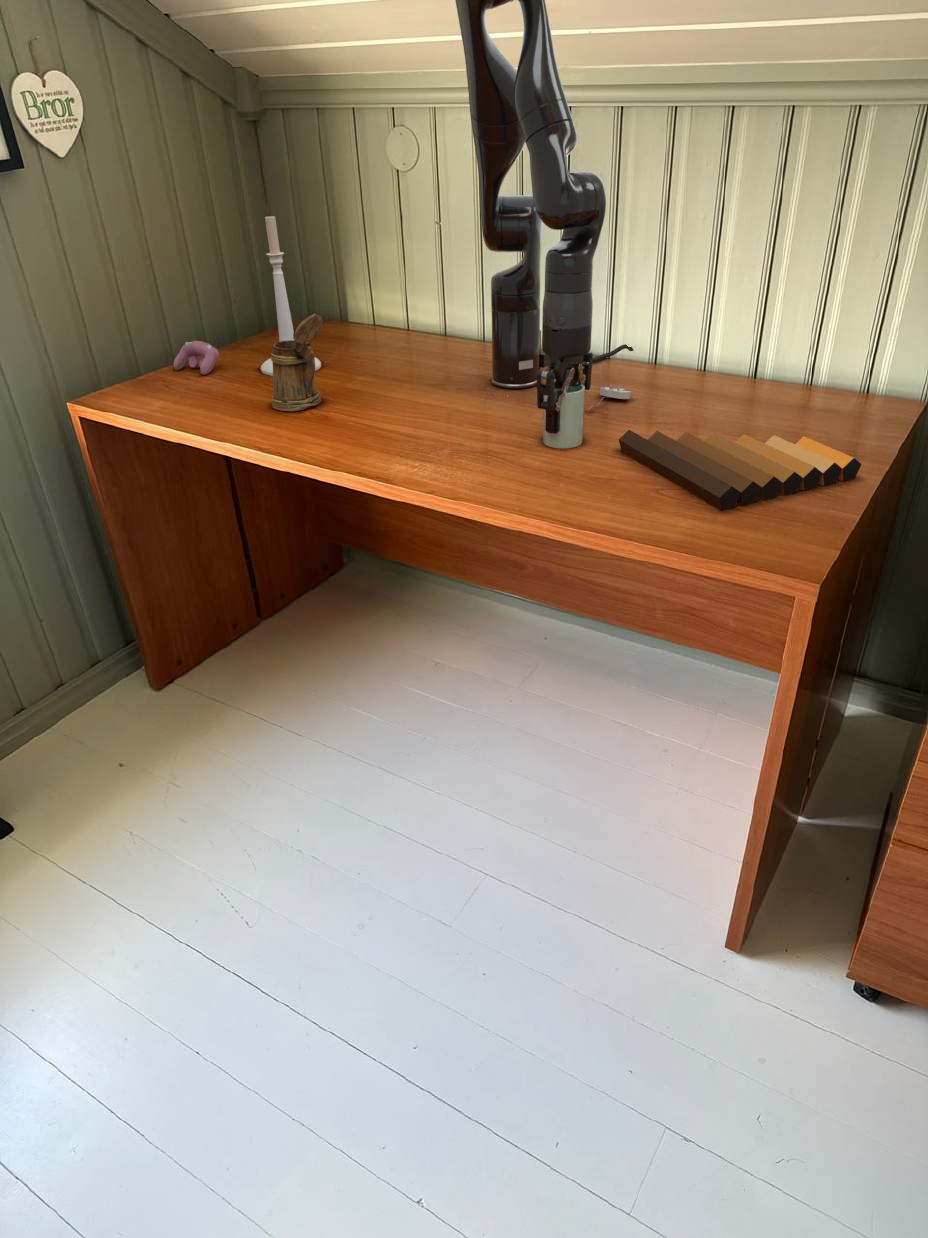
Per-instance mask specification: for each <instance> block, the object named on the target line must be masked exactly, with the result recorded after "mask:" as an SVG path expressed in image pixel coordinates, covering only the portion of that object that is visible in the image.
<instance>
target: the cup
mask: <svg viewBox="0 0 928 1238" xmlns="http://www.w3.org/2000/svg"><path fill="white" fill-rule="evenodd" d="M555 390H560V389H559V388H555ZM585 395H586V390H585V386H584V385H578V386H577V387H572V386H570V387H569V388H568V392H567V393H566V396H565V397H563V398H562V403H561V406H560V431H559V432H558V433H556V434H553V433H548V432H546V430H545V427H546V410H545V409H542V410H543V411H542V412H543V414H542V415H543V416H542V419H543V420H542V442H543V444H544V445H545V446H547V447H548V448H549V447H550V448H554V449H572V448H576V447H579V446H581V445H582V443H583V437H584V420H585V418H584V417H585V400H586V399H585ZM545 396H546V395H544V400H545ZM556 398H557V395H555V401H556Z"/></svg>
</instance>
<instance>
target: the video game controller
mask: <svg viewBox="0 0 928 1238" xmlns="http://www.w3.org/2000/svg"><path fill="white" fill-rule="evenodd" d="M219 356H220V354H219V350H218V349H217V348H216V347H214V346H213V345H212V344H210V343H208V342H206V341H201V340H193V341H186V342H185V343H184V344H183V345H182V347H181V348H180V350H179V352H178V354H177V355H176V356H175V358H174V360H173V363H172V365H173V369H174V370H175V371H179V370H180V371H181V370H182V369H183V368H184V367H185V366H187V364H188V365H189V367H190V368H193V369H199V372H200V374H201V375H203V376H206V375H208V374H210V373H211V372H212V370H213V369H214V367H215V366H216V364H217V363H216V362H217V361H218V359H219ZM200 357H202V358H201V359H200Z"/></svg>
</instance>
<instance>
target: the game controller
mask: <svg viewBox="0 0 928 1238" xmlns="http://www.w3.org/2000/svg"><path fill="white" fill-rule="evenodd" d="M616 387H617V388H612V384H611V385H609V386H601V387H600V390H599V395H600V396H603V397H602V398H601V399H600V401H599V403H598V404H597V405H596V406H595V405H594V407H598V406H599V405H600V404H601V403H602V400H603V399H604V397H605V398H606V399H607V398H613V399H621V400H629V399H631V394H632V391H629V390H625V388H620V385H619V384H618V385H617V386H616ZM591 408H592V406H590V407H589V408H588V409H587V410H588V411H587V412H588V413H590V409H591Z"/></svg>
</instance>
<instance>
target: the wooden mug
mask: <svg viewBox="0 0 928 1238" xmlns="http://www.w3.org/2000/svg"><path fill="white" fill-rule="evenodd" d="M323 324H324V321H323V316H322V315H321V314H320V313H319V312H316V311H312V312H311V313H310V314H308V315H307V316H305V317H304V318H302V319H301V320H300V321H299V322H298V324H297V325H296V327H295V329H293V330H294V334H293V338H294V340H288V341H281V342H280V341H278V342H276V341H275V342H273V344H272V352H271V354H270V358H271V361H272V362H273V376H272V398H271V407H272V408H273V410H277V411H281V412H301V411H305V410H306V411H307V410H310V409H313V408H315V407H318V406H319V405H320V404H321V401H322V398H321V393H320V392H319V390H318V388H317V387H318V386H317V384H316V380H315V372H316V371H315V358H316V357H315V353H314V351H313V348H312V346H311V345H312V343H313V341H314V340H315V339H316V337H318V335H319V334H320V332H321V330H322V327H323ZM314 357H315V358H314Z"/></svg>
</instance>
